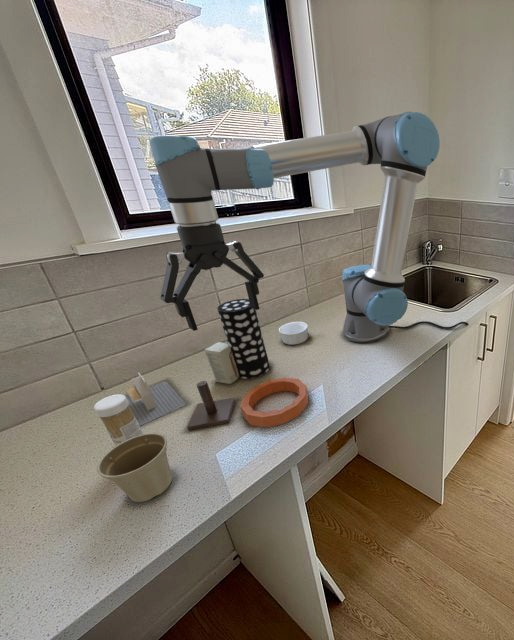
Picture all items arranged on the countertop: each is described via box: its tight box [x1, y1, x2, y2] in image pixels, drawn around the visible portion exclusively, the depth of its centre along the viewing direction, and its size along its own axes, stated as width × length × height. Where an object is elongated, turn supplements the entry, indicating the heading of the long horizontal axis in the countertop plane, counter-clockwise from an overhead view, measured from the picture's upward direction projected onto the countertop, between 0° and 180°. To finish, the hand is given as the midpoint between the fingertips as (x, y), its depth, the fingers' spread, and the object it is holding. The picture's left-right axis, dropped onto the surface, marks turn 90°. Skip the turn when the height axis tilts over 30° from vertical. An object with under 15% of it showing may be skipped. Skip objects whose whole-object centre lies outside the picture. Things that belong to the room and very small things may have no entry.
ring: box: [240, 376, 309, 428], centre depth 80 cm, size 14×14×3 cm
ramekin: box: [278, 321, 309, 346], centre depth 109 cm, size 9×9×4 cm
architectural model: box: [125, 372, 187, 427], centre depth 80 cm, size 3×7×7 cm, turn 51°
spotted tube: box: [217, 298, 271, 380], centre depth 90 cm, size 8×8×20 cm
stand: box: [186, 380, 236, 431], centre depth 76 cm, size 8×8×9 cm
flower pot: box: [96, 432, 173, 503], centre depth 59 cm, size 9×9×9 cm
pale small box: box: [204, 341, 240, 385], centre depth 88 cm, size 5×4×10 cm
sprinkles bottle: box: [93, 393, 144, 447], centre depth 65 cm, size 5×5×13 cm
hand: (226, 317), depth 77 cm, fingers open, 13 cm apart
